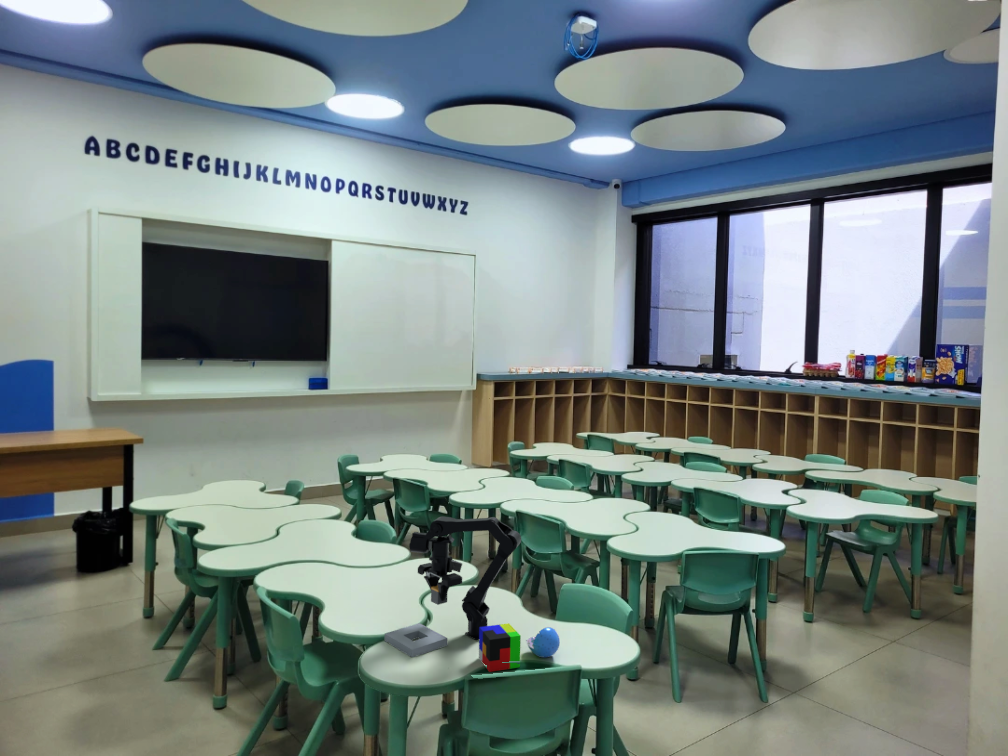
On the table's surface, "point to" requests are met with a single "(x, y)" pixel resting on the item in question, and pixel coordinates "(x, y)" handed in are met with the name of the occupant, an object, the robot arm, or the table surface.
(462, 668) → the table surface
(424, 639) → the plate
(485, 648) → the puzzle toy
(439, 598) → the orange-topped grey block
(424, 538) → the robot arm
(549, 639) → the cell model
